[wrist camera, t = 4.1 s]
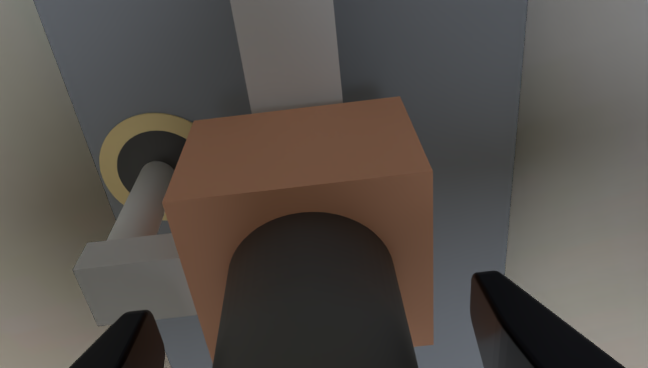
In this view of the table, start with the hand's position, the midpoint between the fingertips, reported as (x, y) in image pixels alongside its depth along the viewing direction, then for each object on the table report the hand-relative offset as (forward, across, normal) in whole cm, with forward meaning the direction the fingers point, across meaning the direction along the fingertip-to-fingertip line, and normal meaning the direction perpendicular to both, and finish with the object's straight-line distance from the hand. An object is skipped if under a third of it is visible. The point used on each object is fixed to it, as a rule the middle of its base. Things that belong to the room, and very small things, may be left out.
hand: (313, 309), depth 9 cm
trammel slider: (+5, +1, 0) cm, 5 cm away
